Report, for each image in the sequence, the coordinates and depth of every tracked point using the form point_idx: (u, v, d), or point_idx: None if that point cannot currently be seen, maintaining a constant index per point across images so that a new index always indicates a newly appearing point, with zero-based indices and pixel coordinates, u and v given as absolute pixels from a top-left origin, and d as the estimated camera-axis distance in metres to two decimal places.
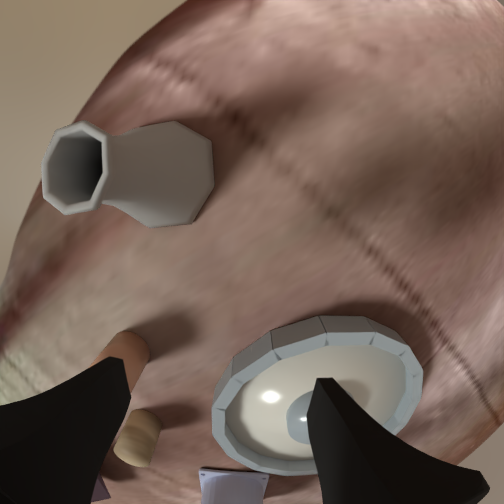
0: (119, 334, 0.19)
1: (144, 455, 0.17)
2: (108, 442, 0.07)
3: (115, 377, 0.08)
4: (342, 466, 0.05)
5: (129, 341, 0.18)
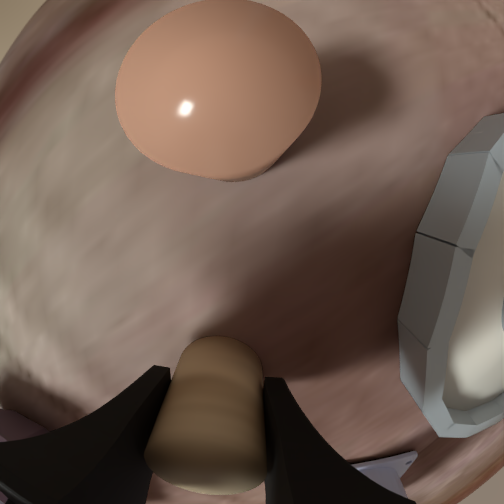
0: None
1: (259, 459, 0.06)
2: None
3: (164, 387, 0.08)
4: (275, 471, 0.05)
5: None
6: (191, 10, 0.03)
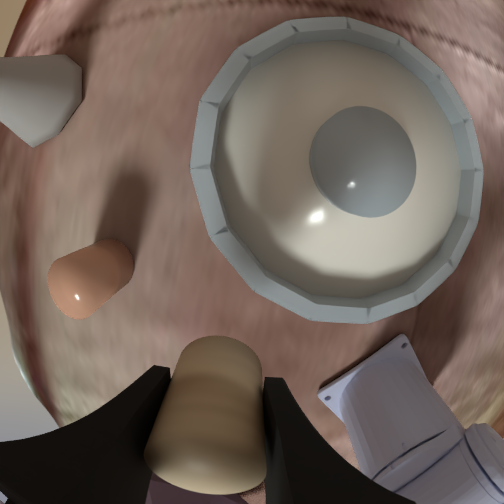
0: None
1: (258, 458, 0.06)
2: None
3: (164, 387, 0.08)
4: (275, 471, 0.05)
5: (93, 244, 0.15)
6: (50, 274, 0.12)
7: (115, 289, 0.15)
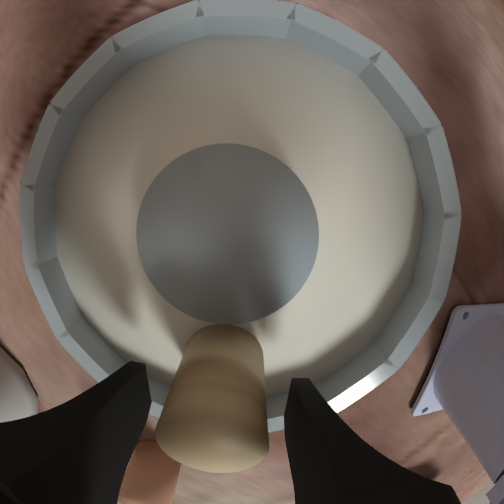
0: None
1: (261, 432, 0.06)
2: (131, 449, 0.07)
3: (138, 382, 0.08)
4: (310, 469, 0.05)
5: (132, 456, 0.13)
6: None
7: (171, 480, 0.12)
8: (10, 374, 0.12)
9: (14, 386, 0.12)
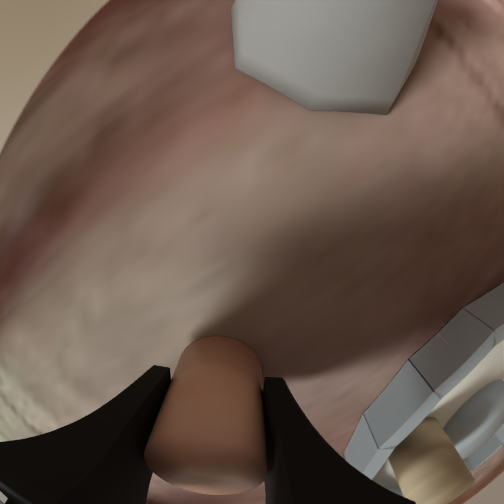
0: (203, 344, 0.10)
1: None
2: None
3: (164, 387, 0.08)
4: (275, 471, 0.05)
5: (234, 357, 0.09)
6: (178, 441, 0.05)
7: None
8: (398, 91, 0.07)
9: (380, 90, 0.07)
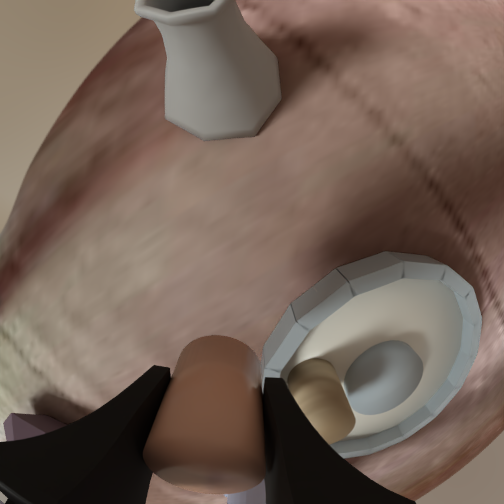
0: (202, 343, 0.10)
1: (334, 442, 0.13)
2: None
3: (164, 387, 0.08)
4: (275, 471, 0.05)
5: (233, 357, 0.09)
6: (177, 440, 0.05)
7: None
8: (254, 122, 0.14)
9: (238, 125, 0.13)
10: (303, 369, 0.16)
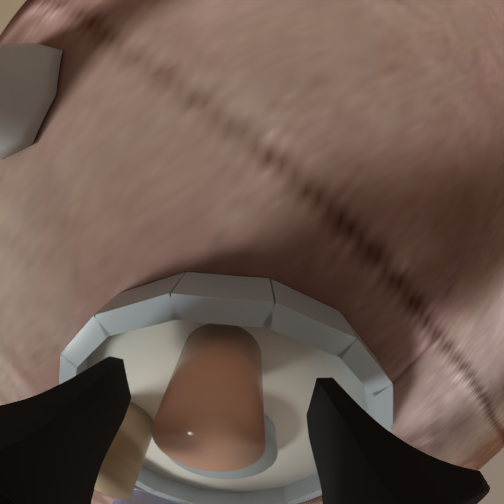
0: (206, 329, 0.11)
1: (121, 498, 0.08)
2: (108, 442, 0.07)
3: (115, 377, 0.08)
4: (342, 466, 0.05)
5: (235, 341, 0.10)
6: (184, 413, 0.06)
7: None
8: (19, 131, 0.09)
9: (6, 139, 0.09)
10: None
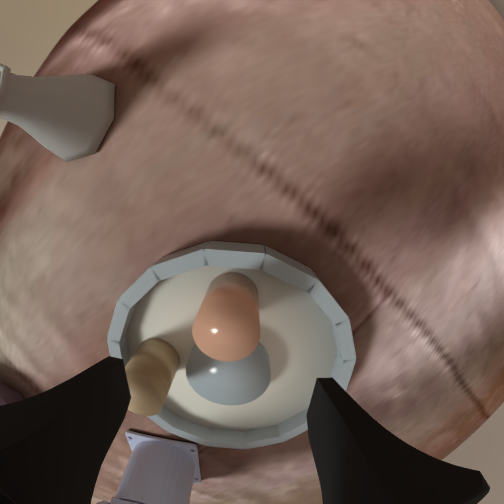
0: (223, 275, 0.17)
1: (152, 414, 0.15)
2: (108, 442, 0.07)
3: (115, 377, 0.08)
4: (342, 466, 0.05)
5: (242, 280, 0.17)
6: (215, 307, 0.13)
7: None
8: (87, 143, 0.16)
9: (76, 148, 0.15)
10: (141, 345, 0.18)
